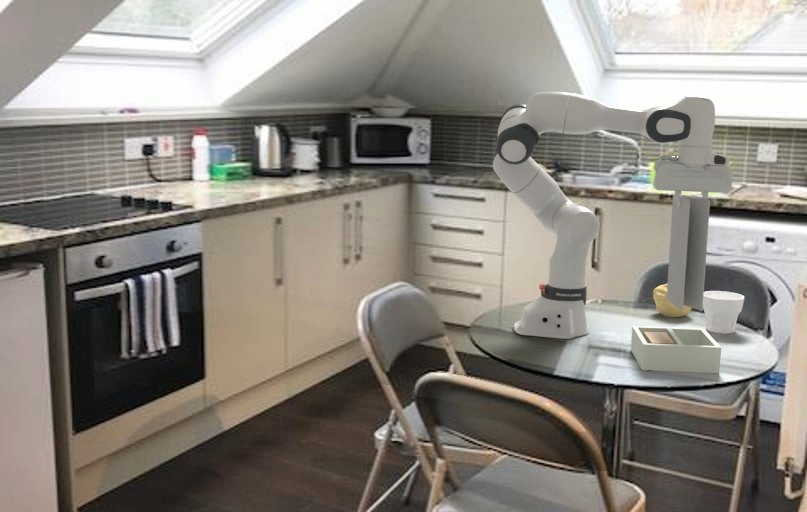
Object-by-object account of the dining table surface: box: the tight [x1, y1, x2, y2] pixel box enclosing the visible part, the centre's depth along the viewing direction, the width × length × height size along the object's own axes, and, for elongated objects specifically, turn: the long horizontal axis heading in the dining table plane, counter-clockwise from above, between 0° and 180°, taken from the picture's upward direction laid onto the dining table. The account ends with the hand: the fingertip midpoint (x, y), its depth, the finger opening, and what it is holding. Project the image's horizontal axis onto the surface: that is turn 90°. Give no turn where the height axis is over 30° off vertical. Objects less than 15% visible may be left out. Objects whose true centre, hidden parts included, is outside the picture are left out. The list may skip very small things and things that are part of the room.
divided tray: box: [630, 325, 722, 374], centre depth 234 cm, size 20×18×7 cm
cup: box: [702, 290, 745, 335], centre depth 266 cm, size 12×12×11 cm
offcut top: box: [643, 332, 675, 344], centre depth 234 cm, size 6×11×4 cm, turn 176°
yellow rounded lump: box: [652, 283, 693, 318], centre depth 283 cm, size 12×12×11 cm
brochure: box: [666, 194, 711, 312], centre depth 238 cm, size 14×6×30 cm, turn 0°
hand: (690, 207), depth 236 cm, fingers closed on brochure, 3 cm apart
